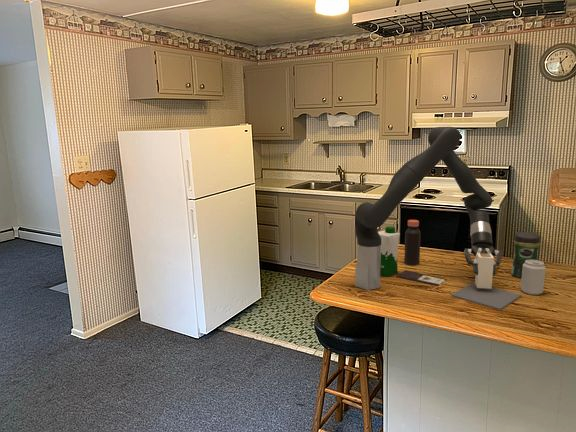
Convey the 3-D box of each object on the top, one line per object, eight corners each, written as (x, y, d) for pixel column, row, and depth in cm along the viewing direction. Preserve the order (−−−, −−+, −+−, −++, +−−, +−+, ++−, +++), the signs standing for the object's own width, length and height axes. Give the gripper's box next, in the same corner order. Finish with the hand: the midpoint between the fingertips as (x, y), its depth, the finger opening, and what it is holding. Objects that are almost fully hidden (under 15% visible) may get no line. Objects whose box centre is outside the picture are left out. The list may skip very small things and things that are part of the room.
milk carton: (400, 273, 188) (402, 228, 184) (386, 278, 183) (388, 231, 179) (384, 268, 195) (385, 225, 191) (370, 273, 189) (371, 228, 185)
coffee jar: (537, 274, 184) (541, 231, 180) (537, 280, 177) (541, 235, 173) (511, 271, 188) (515, 229, 185) (510, 277, 181) (514, 233, 178)
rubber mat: (500, 310, 149) (500, 308, 149) (450, 296, 163) (450, 294, 162) (521, 296, 161) (521, 294, 161) (473, 284, 174) (473, 282, 174)
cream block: (491, 288, 163) (494, 257, 161) (477, 287, 165) (479, 256, 162) (488, 283, 168) (491, 253, 166) (474, 283, 169) (476, 252, 167)
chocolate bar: (405, 270, 191) (446, 278, 179) (405, 272, 191) (446, 281, 180) (395, 275, 184) (437, 285, 173) (395, 277, 184) (437, 287, 173)
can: (531, 296, 160) (534, 265, 158) (515, 289, 168) (518, 259, 165) (547, 294, 162) (551, 263, 160) (531, 287, 169) (534, 257, 167)
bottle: (401, 262, 203) (402, 220, 199) (412, 260, 206) (413, 218, 202) (411, 266, 197) (413, 223, 193) (422, 264, 200) (424, 221, 196)
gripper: (463, 230, 171) (466, 269, 162) (503, 231, 168) (508, 271, 159) (460, 239, 177) (463, 277, 168) (498, 241, 174) (503, 280, 165)
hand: (485, 274), depth 164 cm, fingers closed on cream block, 5 cm apart
